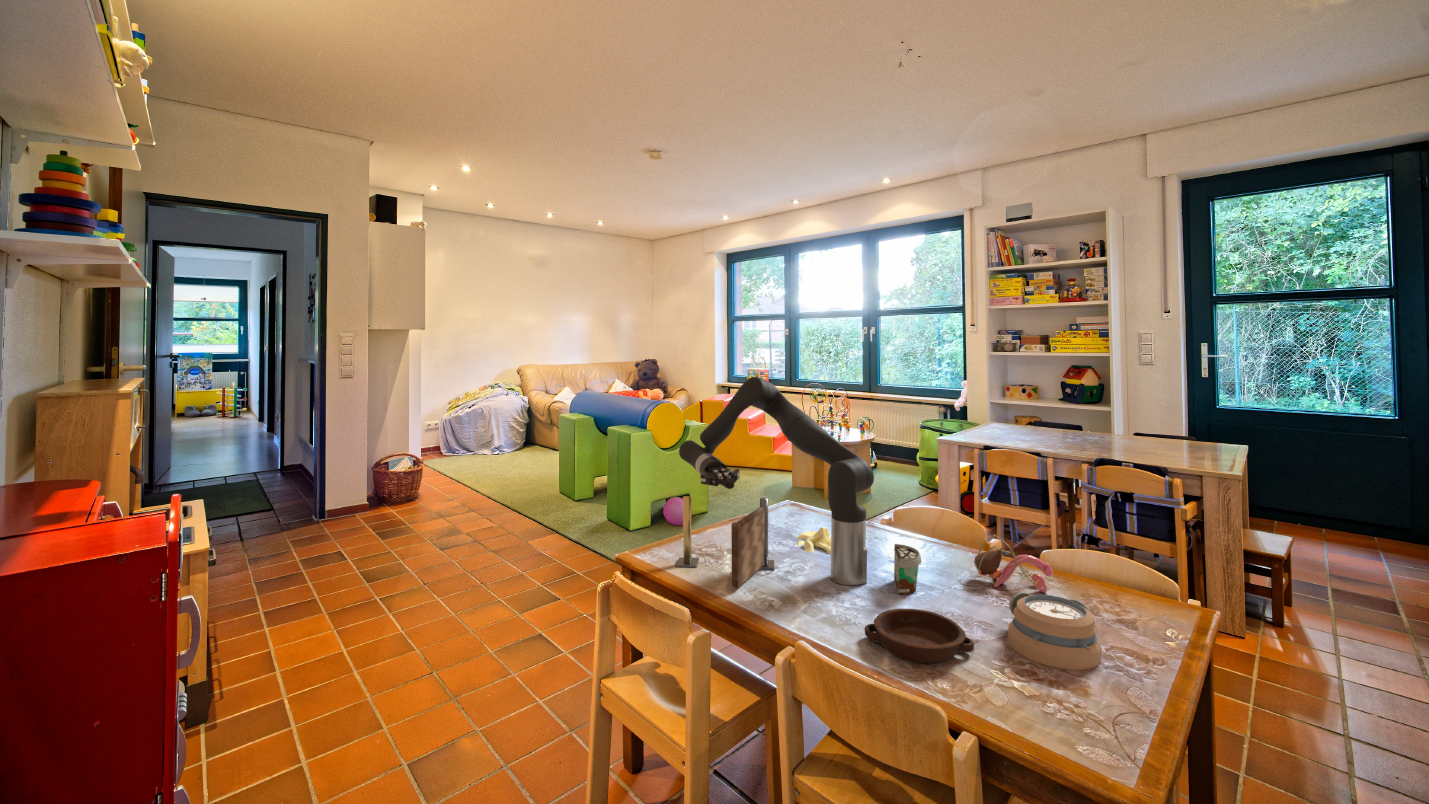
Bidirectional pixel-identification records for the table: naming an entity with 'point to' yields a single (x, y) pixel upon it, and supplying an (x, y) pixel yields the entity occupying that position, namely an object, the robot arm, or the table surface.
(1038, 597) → the alarm clock
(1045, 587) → the anatomy model
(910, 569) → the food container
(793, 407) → the robot arm
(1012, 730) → the table surface
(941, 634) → the dish
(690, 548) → the gate frame
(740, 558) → the gate panel
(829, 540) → the cloth
